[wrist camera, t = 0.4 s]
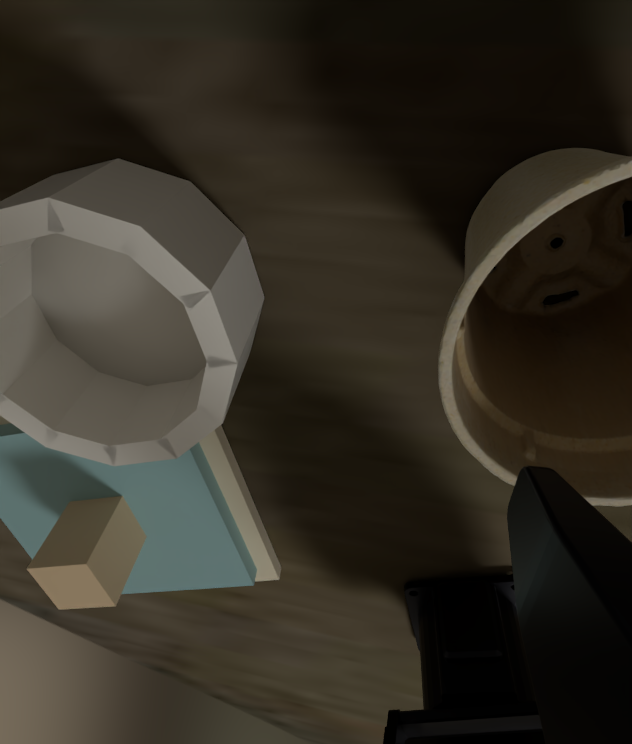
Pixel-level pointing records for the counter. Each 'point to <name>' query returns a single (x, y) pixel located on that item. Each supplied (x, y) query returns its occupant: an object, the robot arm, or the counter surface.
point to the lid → (118, 524)
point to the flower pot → (547, 326)
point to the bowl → (121, 313)
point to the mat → (237, 503)
